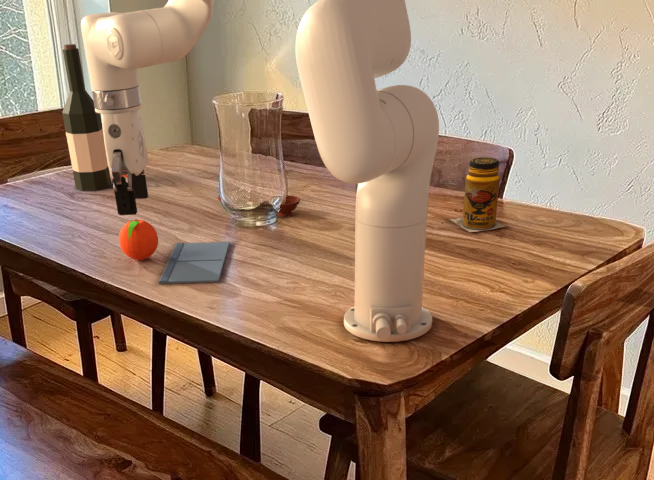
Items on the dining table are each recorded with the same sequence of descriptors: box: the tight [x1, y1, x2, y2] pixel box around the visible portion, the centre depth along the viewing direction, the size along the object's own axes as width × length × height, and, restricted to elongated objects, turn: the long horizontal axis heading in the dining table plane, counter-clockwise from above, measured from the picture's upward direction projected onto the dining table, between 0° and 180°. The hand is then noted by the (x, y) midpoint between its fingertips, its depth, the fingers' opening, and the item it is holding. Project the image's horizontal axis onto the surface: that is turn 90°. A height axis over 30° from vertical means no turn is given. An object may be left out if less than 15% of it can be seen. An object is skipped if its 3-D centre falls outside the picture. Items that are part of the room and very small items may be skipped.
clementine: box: [118, 219, 159, 261], centre depth 139 cm, size 8×7×7 cm
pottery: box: [217, 194, 301, 218], centre depth 162 cm, size 12×20×4 cm, turn 48°
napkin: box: [158, 241, 231, 285], centre depth 138 cm, size 19×10×1 cm, turn 177°
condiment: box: [449, 156, 506, 233], centre depth 146 cm, size 7×8×12 cm
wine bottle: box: [61, 43, 112, 192], centre depth 177 cm, size 8×8×30 cm
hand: (133, 206), depth 136 cm, fingers open, 9 cm apart
